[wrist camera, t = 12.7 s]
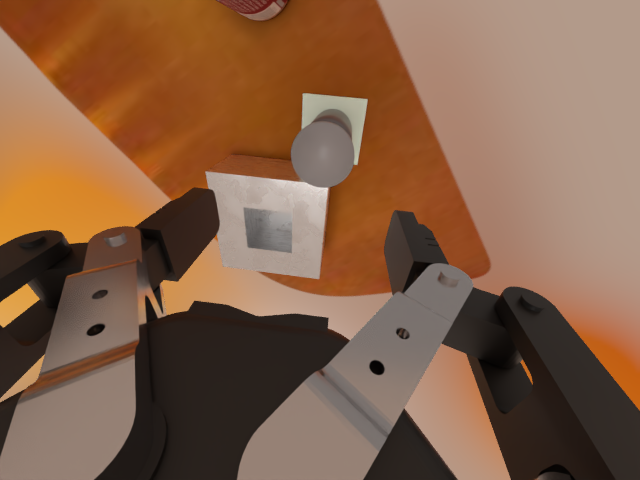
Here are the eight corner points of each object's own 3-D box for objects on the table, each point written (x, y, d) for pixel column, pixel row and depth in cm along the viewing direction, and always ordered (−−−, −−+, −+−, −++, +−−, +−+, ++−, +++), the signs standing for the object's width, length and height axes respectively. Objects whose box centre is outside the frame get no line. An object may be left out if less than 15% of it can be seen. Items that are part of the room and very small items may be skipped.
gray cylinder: (309, 151, 30) (290, 184, 21) (311, 104, 27) (291, 119, 18) (350, 155, 30) (349, 190, 21) (357, 109, 27) (359, 126, 18)
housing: (242, 238, 39) (223, 266, 33) (232, 153, 32) (205, 171, 26) (324, 248, 39) (319, 279, 33) (332, 164, 31) (328, 185, 25)
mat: (301, 157, 31) (300, 158, 31) (303, 92, 27) (302, 93, 27) (357, 163, 31) (357, 164, 30) (367, 99, 27) (367, 99, 26)
